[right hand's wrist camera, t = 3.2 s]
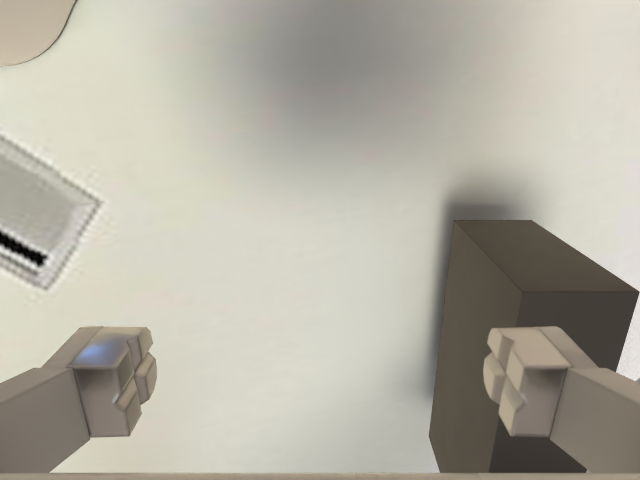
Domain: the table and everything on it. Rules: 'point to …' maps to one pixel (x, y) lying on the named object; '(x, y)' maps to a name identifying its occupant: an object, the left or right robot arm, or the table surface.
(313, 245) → the table surface
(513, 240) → the box
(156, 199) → the table surface
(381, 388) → the table surface
